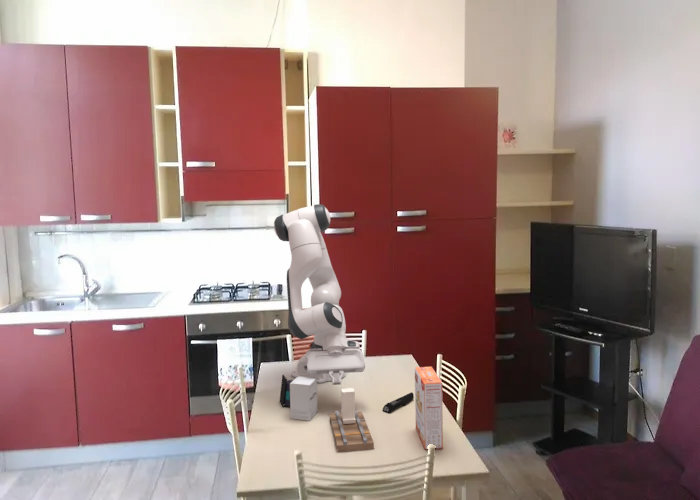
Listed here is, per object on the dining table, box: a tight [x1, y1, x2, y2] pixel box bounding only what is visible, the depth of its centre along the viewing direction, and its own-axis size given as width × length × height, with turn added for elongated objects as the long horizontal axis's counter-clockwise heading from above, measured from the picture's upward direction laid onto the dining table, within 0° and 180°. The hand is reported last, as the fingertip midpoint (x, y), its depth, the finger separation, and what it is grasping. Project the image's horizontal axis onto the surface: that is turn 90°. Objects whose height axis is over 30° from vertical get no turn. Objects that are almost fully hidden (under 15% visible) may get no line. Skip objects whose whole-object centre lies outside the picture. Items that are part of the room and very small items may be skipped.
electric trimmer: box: [382, 391, 415, 414], centre depth 189 cm, size 4×16×3 cm, turn 137°
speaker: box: [278, 374, 294, 408], centre depth 191 cm, size 8×6×10 cm
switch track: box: [329, 408, 375, 453], centre depth 169 cm, size 22×11×3 cm, turn 8°
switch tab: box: [340, 387, 356, 424], centre depth 172 cm, size 5×4×10 cm
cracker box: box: [414, 366, 444, 451], centre depth 163 cm, size 14×6×21 cm, turn 4°
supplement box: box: [289, 376, 318, 422], centre depth 182 cm, size 7×7×13 cm
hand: (336, 384), depth 181 cm, fingers closed
